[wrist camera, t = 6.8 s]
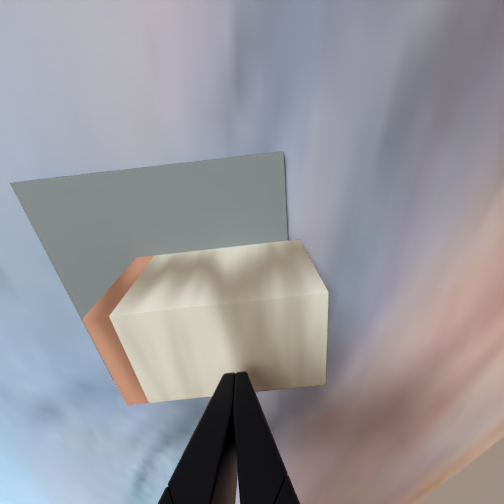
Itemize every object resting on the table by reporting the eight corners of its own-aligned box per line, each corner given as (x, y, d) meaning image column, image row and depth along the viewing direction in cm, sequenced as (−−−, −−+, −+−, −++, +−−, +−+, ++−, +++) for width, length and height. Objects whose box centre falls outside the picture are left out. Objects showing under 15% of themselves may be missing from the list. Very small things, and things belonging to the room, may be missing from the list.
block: (328, 292, 9) (82, 319, 9) (325, 384, 11) (127, 405, 11) (299, 239, 13) (136, 257, 13) (301, 311, 15) (160, 327, 15)
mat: (282, 151, 12) (283, 151, 11) (292, 359, 18) (293, 362, 17) (15, 182, 12) (10, 183, 11) (115, 377, 18) (113, 380, 17)
